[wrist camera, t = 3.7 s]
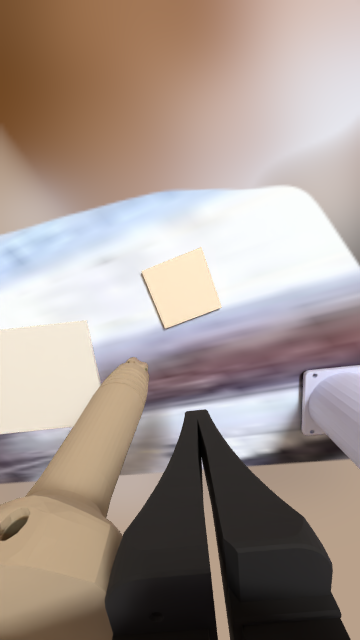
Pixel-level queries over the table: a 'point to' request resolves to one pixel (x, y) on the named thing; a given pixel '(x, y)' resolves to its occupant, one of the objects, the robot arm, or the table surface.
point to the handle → (70, 523)
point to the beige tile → (182, 288)
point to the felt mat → (45, 376)
